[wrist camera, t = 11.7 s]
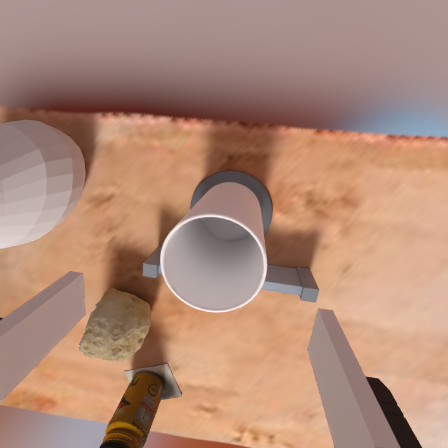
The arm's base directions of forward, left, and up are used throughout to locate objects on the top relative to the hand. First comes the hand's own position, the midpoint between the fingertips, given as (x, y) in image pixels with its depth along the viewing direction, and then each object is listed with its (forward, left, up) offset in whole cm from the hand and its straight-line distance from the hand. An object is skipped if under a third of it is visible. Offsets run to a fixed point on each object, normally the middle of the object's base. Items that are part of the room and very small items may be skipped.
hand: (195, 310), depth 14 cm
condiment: (-10, -33, -22) cm, 41 cm away
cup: (0, 0, -22) cm, 22 cm away
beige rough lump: (-14, -18, -22) cm, 32 cm away
